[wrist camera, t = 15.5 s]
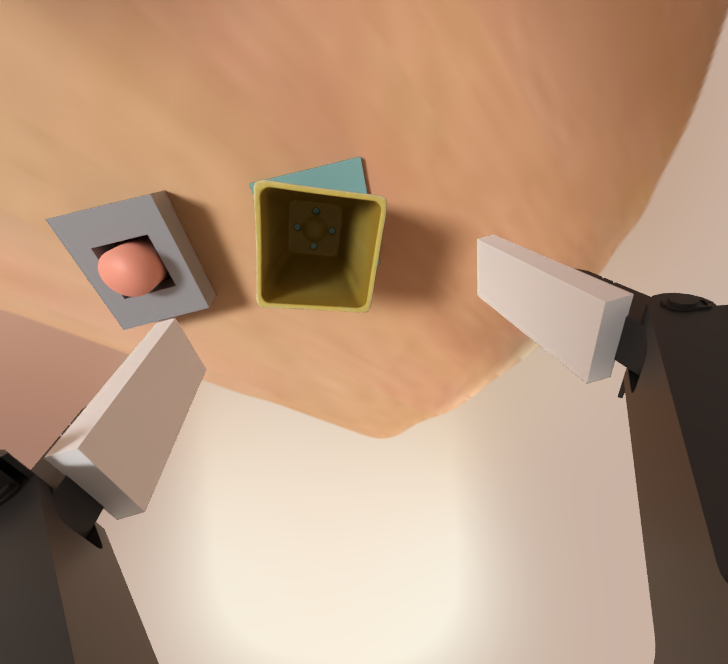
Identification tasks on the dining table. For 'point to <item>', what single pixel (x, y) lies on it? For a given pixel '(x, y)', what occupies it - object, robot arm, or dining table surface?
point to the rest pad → (328, 180)
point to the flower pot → (331, 256)
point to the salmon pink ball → (132, 268)
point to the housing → (159, 220)
